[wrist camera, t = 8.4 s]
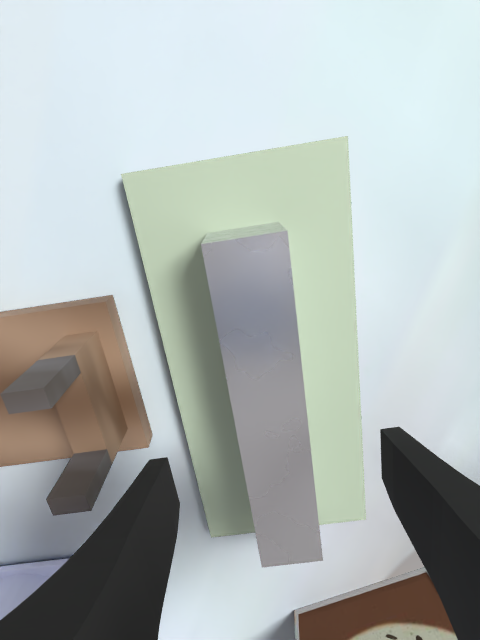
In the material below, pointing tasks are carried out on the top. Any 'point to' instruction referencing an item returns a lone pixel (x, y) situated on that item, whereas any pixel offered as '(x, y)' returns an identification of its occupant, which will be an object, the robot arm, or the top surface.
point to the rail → (266, 385)
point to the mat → (310, 299)
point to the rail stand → (69, 395)
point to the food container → (379, 613)
